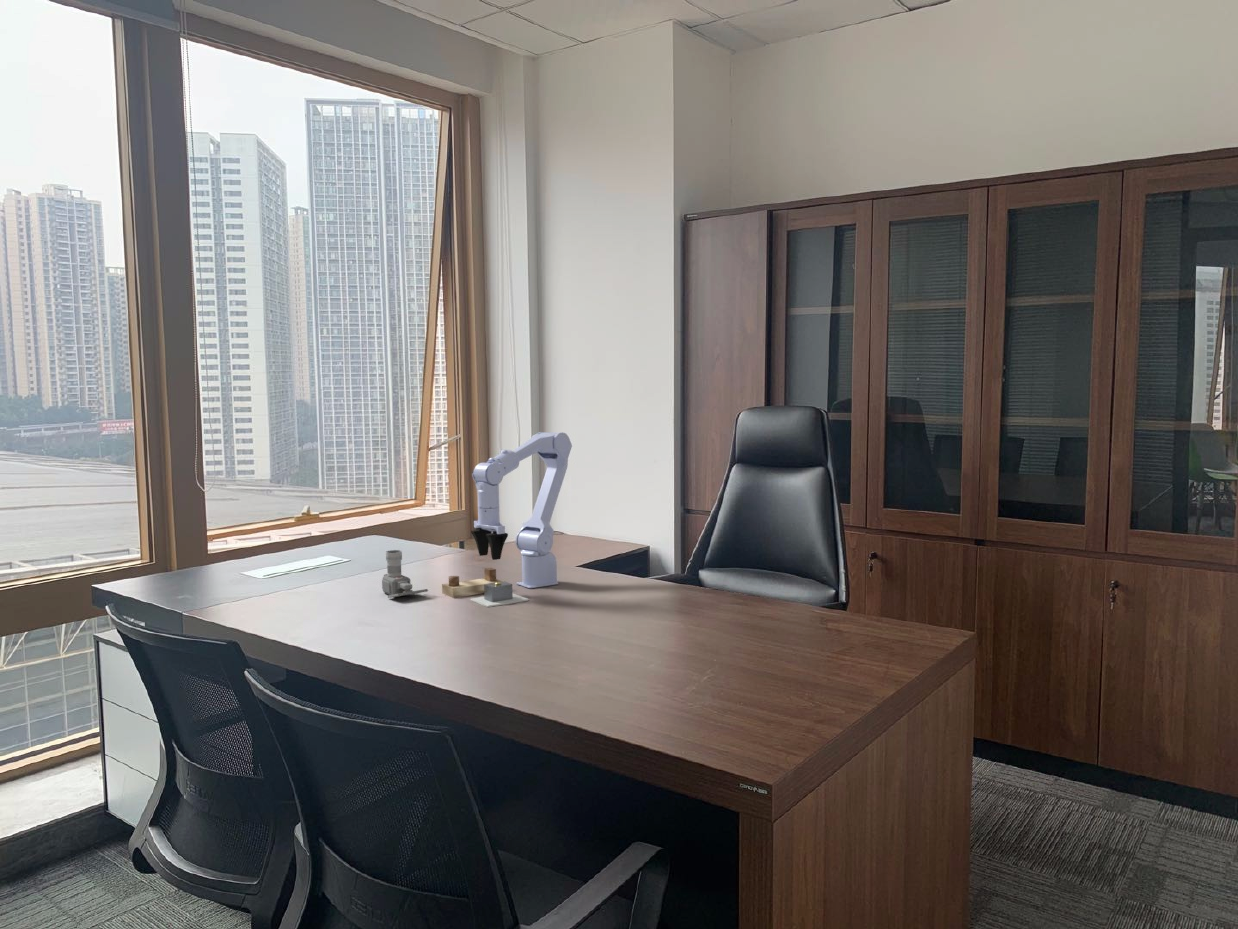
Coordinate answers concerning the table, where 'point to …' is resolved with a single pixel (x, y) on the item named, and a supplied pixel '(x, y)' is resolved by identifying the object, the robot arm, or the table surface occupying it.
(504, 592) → the lever cap
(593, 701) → the table surface
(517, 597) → the felt mat
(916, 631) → the table surface
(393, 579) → the camera
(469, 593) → the body
